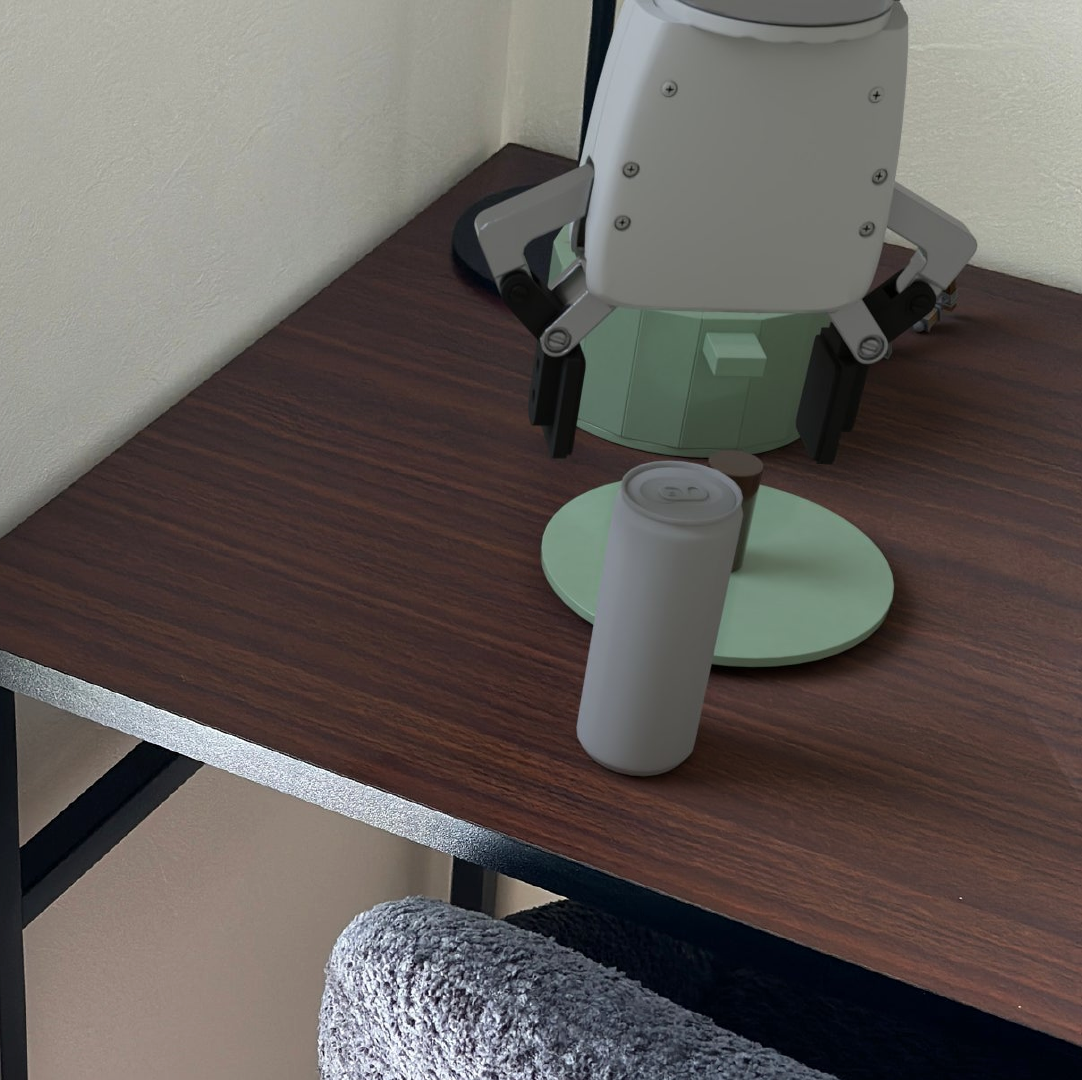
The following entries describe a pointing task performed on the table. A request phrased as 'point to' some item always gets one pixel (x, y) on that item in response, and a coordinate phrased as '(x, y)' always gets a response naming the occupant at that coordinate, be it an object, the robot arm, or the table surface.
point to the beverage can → (658, 615)
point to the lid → (750, 571)
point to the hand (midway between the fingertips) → (684, 444)
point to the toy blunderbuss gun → (935, 311)
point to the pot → (693, 376)
